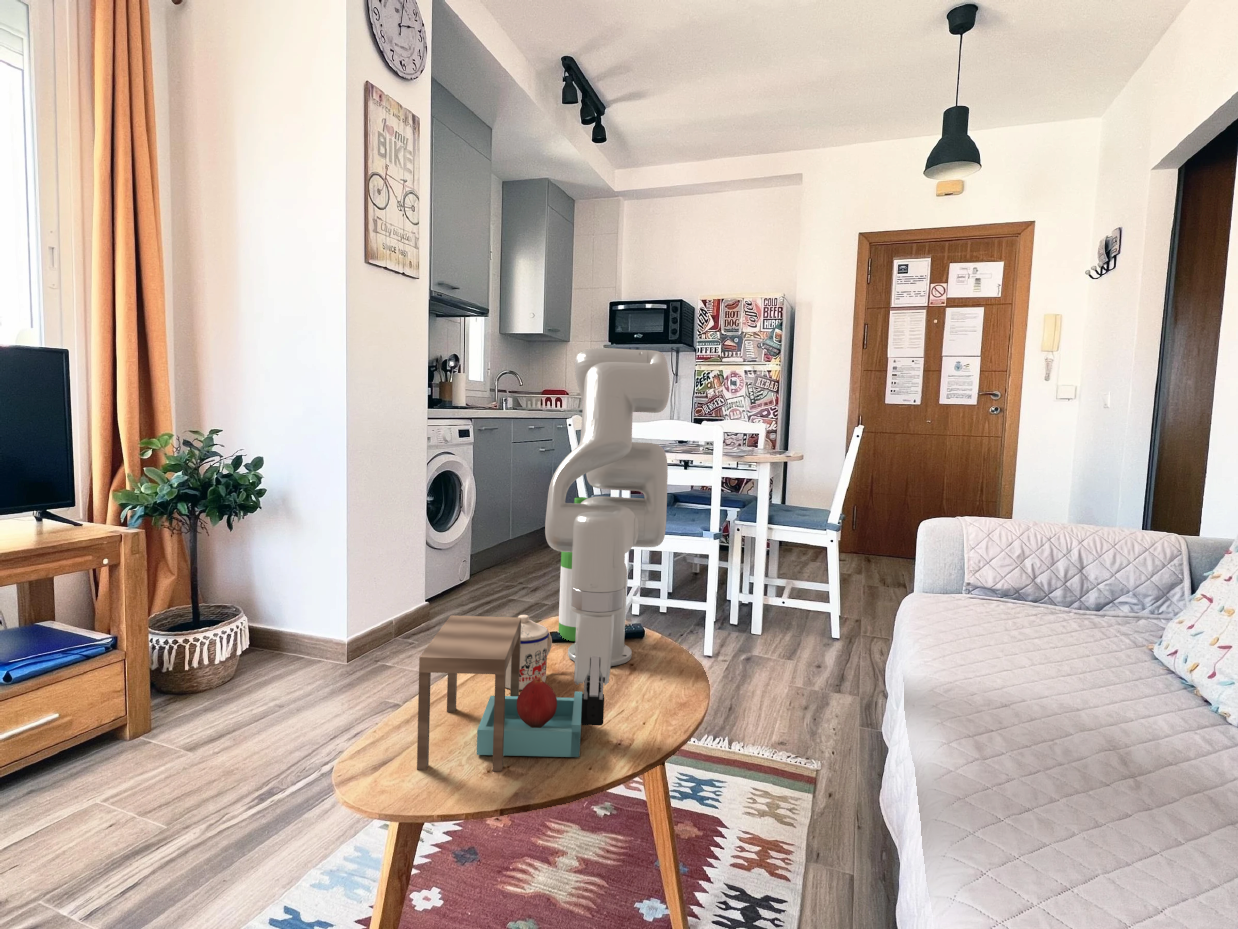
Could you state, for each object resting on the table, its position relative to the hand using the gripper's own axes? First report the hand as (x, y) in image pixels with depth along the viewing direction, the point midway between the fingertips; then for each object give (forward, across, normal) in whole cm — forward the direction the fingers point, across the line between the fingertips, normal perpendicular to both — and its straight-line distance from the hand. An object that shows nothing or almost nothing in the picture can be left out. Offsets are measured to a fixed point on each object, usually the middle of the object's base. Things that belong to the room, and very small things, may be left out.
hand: (592, 722), depth 94 cm
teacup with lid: (+3, -22, -11) cm, 25 cm away
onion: (+2, 0, -8) cm, 8 cm away
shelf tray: (+3, 0, -9) cm, 9 cm away
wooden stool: (+3, 0, -17) cm, 17 cm away
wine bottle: (+3, -45, -3) cm, 45 cm away
